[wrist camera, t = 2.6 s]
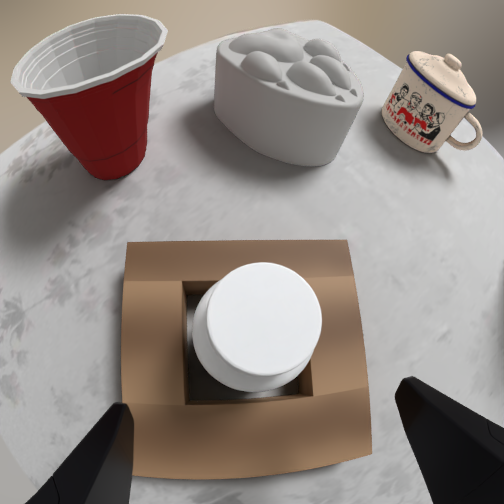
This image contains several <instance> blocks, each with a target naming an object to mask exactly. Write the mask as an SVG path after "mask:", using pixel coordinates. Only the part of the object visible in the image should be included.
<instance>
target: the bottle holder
mask: <svg viewBox="0 0 504 504" xmlns="http://www.w3.org/2000/svg"><path fill="white" fill-rule="evenodd" d="M260 262H266V263H274V264H278V265H282V266H284V267H286V268H289V269H291V270H293V271H294V272H296V273H297V274H298V275H300V276H301V277H302V278H303V279H304V280H305V281H306V282H307V283H308V284H309V285H310V287H311V288H312V290H313V291H314V293H315V295H316V297H317V299H318V302H319V305H320V308H321V315H322V327H321V333H320V337H319V340H318V342H317V344H316V346H315V348H314V351H313V353H312V356H311V358H310V360H309V362H308V363H307V365H306V367H305V368H304V369H303V370H302V371H301V373H300V374H299V375H298V384H299V394H293V395H284V396H275V397H264V398H251V399H234V400H199V401H190V397H189V378H188V354H187V295H204V294H205V293H206V292H207V291H208V290H209V289H210V288H211V287H212V286H213V285H214V284H215V283H217V282H218V281H220V280H221V279H223V278H224V277H225V276H226V275H227V274H229V273H230V272H231V271H233V270H235V269H237V268H239V267H241V266H244V265H247V264H252V263H260ZM121 382H122V403H126V404H127V405H128V406H129V409H130V411H131V414H132V416H133V419H134V457H133V473H132V475H134V476H143V477H154V478H169V479H232V478H247V477H258V476H268V475H276V474H283V473H290V472H296V471H302V470H308V469H313V468H318V467H323V466H328V465H332V464H337V463H341V462H345V461H349V460H352V459H356V458H360V457H363V456H367V455H370V454H372V435H371V414H370V399H369V386H368V375H367V365H366V356H365V347H364V339H363V331H362V324H361V317H360V310H359V303H358V297H357V291H356V285H355V279H354V274H353V268H352V263H351V257H350V252H349V247H348V242H347V240H232V241H164V242H127V251H126V261H125V272H124V285H123V301H122V324H121Z"/></svg>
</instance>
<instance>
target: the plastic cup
mask: <svg viewBox="0 0 504 504" xmlns="http://www.w3.org/2000/svg"><path fill="white" fill-rule="evenodd" d="M167 32H168V30H167V29H166V28H165V27H164V25H163V24H162V23H161V22H160V21H159V20H156V19H153V18H149V17H147V16H144V15H132V14H117V15H109V16H102V17H96V18H92V19H89V20H86V21H82V22H80V23H76V24H73V25H70V26H68V27H66V28H64V29H62V30H60V31H58V32H56V33H54V34H52V35H50V36H48V37H47V38H45V39H43V40H42V41H41V42H39V43H38V44H37V45H35V46H34V47H33V48H32V49H30V50H29V51H28V52H27V53H26V54H25V55H24V56H23V57H22V59H21V60H20V61H19V62H18V64H17V65H16V66H15V68H14V70H13V74H12V78H11V83H12V85H13V86H14V87H15V88H16V89H17V91H18V92H19V93H20V94H21V95H22V96H24V97H27V98H28V99H29V100H30V101H31V102H32V104H33V105H34V106H35V108H36V109H37V110H38V111H39V112H40V113H41V114H42V115H43V117H44V118H45V119H46V121H47V122H48V123H49V125H50V126H51V128H52V129H53V130H54V131H55V133H56V134H57V135H58V137H59V138H60V139H61V141H62V142H63V143H64V145H65V146H66V147H67V148H68V150H69V151H70V152H71V153H72V154H73V155H74V156H75V157H76V158H77V159H78V160H79V162H80V163H81V164H82V165H83V167H84V168H85V169H86V170H87V171H88V172H89V173H90V174H91V175H93V176H94V177H95V178H99V179H102V180H111V179H118V178H120V177H122V176H125V175H127V174H129V173H130V172H131V171H133V170H134V169H135V168H136V167H138V166H139V164H140V163H141V161H142V160H143V158H144V157H145V152H146V146H147V123H148V117H149V101H150V88H151V76H152V69H153V66H154V61H155V58H156V55H157V53H158V52H159V51H160V50H161V49H162V47H163V44H164V41H165V38H166V35H167Z"/></svg>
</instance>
